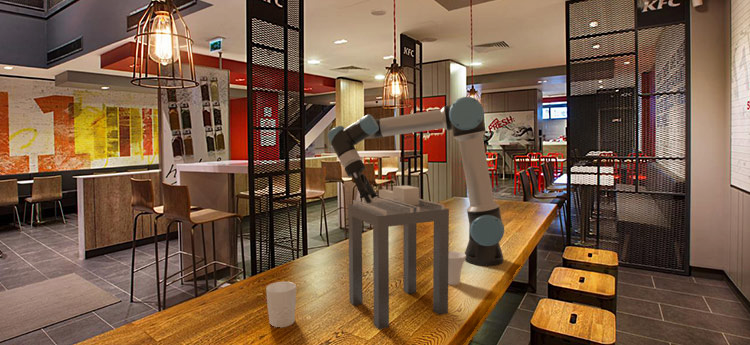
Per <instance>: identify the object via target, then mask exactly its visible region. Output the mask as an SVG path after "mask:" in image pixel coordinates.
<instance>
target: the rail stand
mask: <svg viewBox="0 0 750 345" xmlns="http://www.w3.org/2000/svg"><path fill="white" fill-rule="evenodd" d="M347 207H348V209H347V210H348V213H347V214H348V216H347V220H348V272H349V273H348V277H349V279H348V282H349V283H348V284H349V286H348V287H349V290H348V291H349V292H348V294H349V298H348V299H349V303H350V304H351V305H353V306H357V305H362V304H363V303H364V302H363V224H362V223H363V222H365V223H367V224H369V225H371V226H372V231H373V232H372V257H373V258H372V260H373V261H372V264H373V265H372V266H373V270H372V271H373V273H372V274H373V326H374V327H375V328H376V329H378V330H382V329H387V328H390V312H389V311H390V287H389V286H390V283H389V282H390V278H389V277H390V273H389V272H390V270H389V269H390V266H389V264H390V259H389V257H390V256H389V255H390V253H389V252H390V250H389V248H390V246H389V242H390V241H389V236H390V234H389V228H391V227H395V226H403V292H404V293H406V294H407V295H411V294H416V293H417V224H421V223H422V224H423V223H432V222H433V251H432V252H433V262H432V264H433V266H432V267H433V269H432V270H433V275H432V276H433V277H432V279H433V280H432V281H433V283H432V284H433V285H432V286H433V288H432V289H433V291H432V292H433V294H432V297H433V298H432V303H433V304H432V311H433V312H434V313H435V314H437V315H439V316H441V315H445V314H449V285H448V251H450V250H449V242H450V241H449V235H450V231H449V230H450V226H449V225H450V218H449V217H450V208H447V207H445V204H442V203H437V202H434V201H429V200H425V199H422V198H419V205H409V204H406V203H402V202H399V201H396V200H392V199H389V198H380V197H378V198H377V202H373V203H365V202H362V201H360V200H358V199H352V203H351V204H348V205H347Z"/></svg>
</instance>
